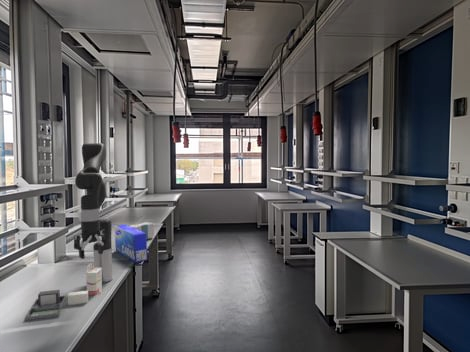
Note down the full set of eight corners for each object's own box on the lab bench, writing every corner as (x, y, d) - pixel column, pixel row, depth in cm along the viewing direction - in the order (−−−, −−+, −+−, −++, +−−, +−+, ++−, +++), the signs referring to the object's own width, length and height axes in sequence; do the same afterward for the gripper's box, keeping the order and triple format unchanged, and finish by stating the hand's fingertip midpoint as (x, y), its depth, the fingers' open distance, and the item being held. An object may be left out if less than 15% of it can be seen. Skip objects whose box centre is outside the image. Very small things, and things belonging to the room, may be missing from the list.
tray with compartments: (36, 304, 160) (36, 299, 160) (66, 301, 164) (66, 295, 163) (24, 324, 141) (24, 317, 141) (58, 319, 145) (58, 313, 144)
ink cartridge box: (97, 296, 169) (96, 266, 168) (86, 297, 168) (85, 266, 168) (102, 290, 177) (101, 261, 177) (92, 290, 177) (91, 261, 176)
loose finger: (69, 304, 161) (69, 292, 160) (88, 301, 163) (88, 290, 163) (68, 308, 156) (67, 295, 156) (87, 305, 159) (87, 293, 159)
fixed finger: (40, 303, 158) (40, 291, 158) (60, 301, 160) (59, 289, 160) (38, 307, 154) (37, 295, 154) (58, 305, 156) (58, 293, 156)
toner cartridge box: (115, 251, 256) (114, 225, 255) (126, 249, 261) (125, 224, 260) (135, 263, 224) (134, 234, 224) (147, 260, 229) (147, 232, 229)
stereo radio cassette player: (135, 243, 278) (134, 218, 277) (127, 242, 282) (127, 217, 281) (154, 238, 296) (153, 214, 295) (147, 237, 300) (146, 214, 299)
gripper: (100, 215, 160) (101, 251, 161) (69, 220, 149) (71, 258, 150) (109, 217, 156) (111, 253, 157) (79, 222, 144) (80, 261, 145)
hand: (91, 256), depth 153 cm, fingers open, 8 cm apart
